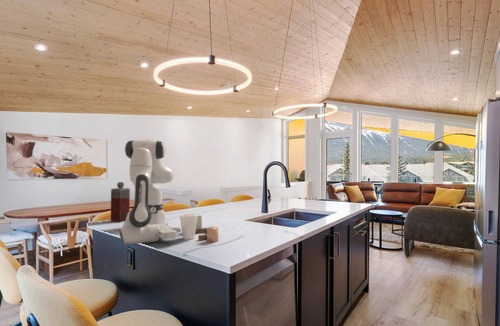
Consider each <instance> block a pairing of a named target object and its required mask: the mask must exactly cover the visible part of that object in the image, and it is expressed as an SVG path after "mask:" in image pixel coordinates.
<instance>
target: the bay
mask: <svg viewBox="0 0 500 326" xmlns="http://www.w3.org/2000/svg"><path fill="white" fill-rule="evenodd" d="M203 233H204V234H203ZM205 233H206V234H205ZM196 234H197V235H198V234H199V235H198V237H197V238H198V241H204V240H206V241H207V227H202V228H201V229H195V235H196Z"/></svg>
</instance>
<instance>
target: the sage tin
mask: <svg viewBox="0 0 500 326" xmlns="http://www.w3.org/2000/svg"><path fill="white" fill-rule="evenodd" d="M196 214H197V222H196V229H201V228H203V227H202V225H203V223H202V222H203V221H202V218H203V217H202V215H201V214H198V213H196Z"/></svg>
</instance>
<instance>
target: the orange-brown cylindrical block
mask: <svg viewBox="0 0 500 326" xmlns="http://www.w3.org/2000/svg"><path fill="white" fill-rule="evenodd" d="M206 228H207V233H206V234H207V240H206V242H207V243H217V242H219V227H218V226H208V227H206Z"/></svg>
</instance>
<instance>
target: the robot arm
mask: <svg viewBox="0 0 500 326" xmlns="http://www.w3.org/2000/svg"><path fill="white" fill-rule="evenodd" d="M166 150H167V149H166V146H165V143H164V142H162V141H160V140H157V141H156V140H154V139H149V138H148V139H145V140H143V139H142V140H128V141H127V142H126V144H125V147H124V152H125V156H126V157H127V158H128V159H130V163H129V179H130V181H131V182H132V184H133V186H134V202H133V204H134V205H133V207H132V209H130V211H129V212H128V214H127V217H126V220H125V221H124V223H123V225H122V227H121V228H120V229H119V237H120V241H121V242H122V243H123V244H124V245H138V244H141V243H152V242H153V243H154V242H155V243H156V242H158V241H159V239H160V240H174V239H176V238H177V234H178V233H182V228H181V227H171V226H170V225H169V223H168V221H166V212H165V211H164V203H163V192H162V190H160V189H159V188H156V187H155V186H154V184H168V183H171V182H172V181H173V180H174V176H175V174H174V171H173V170H172V168H170V167H168V166H166V165H165V164H164V163H163V162H162V160H161V159H163V158H164V157H165V155H166Z"/></svg>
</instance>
